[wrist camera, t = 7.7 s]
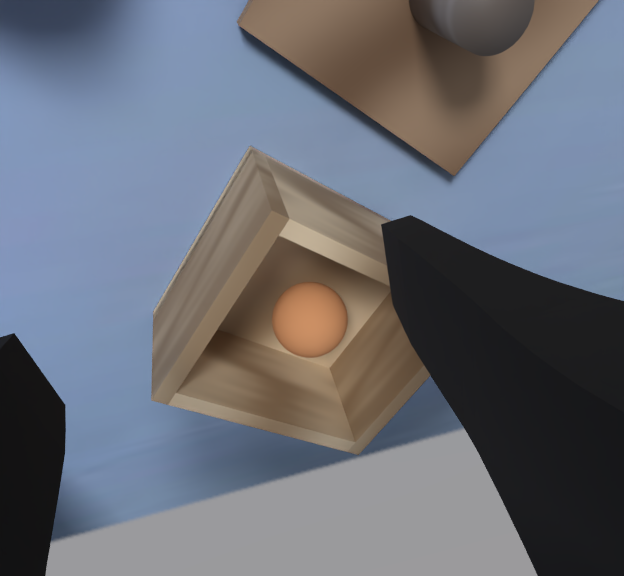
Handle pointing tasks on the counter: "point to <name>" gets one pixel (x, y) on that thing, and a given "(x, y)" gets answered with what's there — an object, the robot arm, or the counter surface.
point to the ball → (309, 319)
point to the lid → (421, 59)
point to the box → (259, 308)
